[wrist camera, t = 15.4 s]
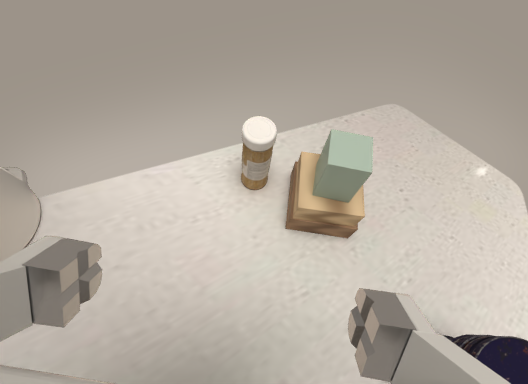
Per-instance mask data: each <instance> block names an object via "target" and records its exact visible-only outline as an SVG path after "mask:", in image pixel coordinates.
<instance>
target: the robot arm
mask: <svg viewBox="0 0 528 384" xmlns="http://www.w3.org/2000/svg"><path fill="white" fill-rule="evenodd" d="M40 214H41V209H40V203H39V200H38V198H37V196H36V195H35V194H34V192H33V191H32V190H31V189H30V188H29V186H28V184H27V177H26V173H25V172H24V171H23V170H21V169H19V168H15V167H9V168H8V167H6V168H5V167H0V342H1V341H2V340H4V339H6V338H8V337H10V336H12V335H14V334H16V333H18V332H20V331H22V330H24V329H25V328H27V327H29V326H31V325H32V323H34V324H42V325H49V326H56V327H65V326H66V325H67V324H68V323H69V322H70V321H71V319H72V318H73V317H74V316H75V315H76V314H77V313H78V312H79V311H80V304H81V303H84V302H86V301H88V300H90V299H91V298H92V297H93V296H94V295H95V294H96V292H97V290H98V288H99V286H100V284H101V279H102V269H101V267H100V266H99V265H98V263H97V262H98V261H99V259H100V258H101V257H102V254H101V247H100V246H99V245H98V244H94V243H89V242H84V241H78V240H73V239H68V238H63V237H56V236H45V237H43V238H41V239H40V240H38V241H36V242H34V243H33V244H31V245H29V246H28V247H26V248H24V247H25V246H26V245H27V244H28V243H29V241H30V240H31V238H32V237H33V235H34V233H35V232H36V229H37V227H38V224H39V221H40ZM23 248H24V249H23ZM355 301H356V304H357V306H356V307H355V308H354V309H352V310H351V312H350V316H349V321H348V333H349V338H350V342H351V344H352V345H353V346H354V347H355V348H356V349H357V350H356V353H355V359H356V362H357V365H358V368H359V372H360V375H361V376H362V377H367V378H373V379H378V380H383V381H388V382H391V384H511V383H509V382H508V381H506V380H505V379H504V378H502V377H501V376H499V375H498V374H497V373H495V372H494V371H492V370H491V369H490V368H488V367H487V366H485V365H484V364H482V363H481V362H480V361H478V360H477V359H475V358H474V357H473V356H471V355H470V354H468V353H467V352H466V351H464V350H463V349H461V348H460V347H458V346H457V345H456V344H454V343H453V342H451V341H450V340H449V339H447V338H446V337H444V336H443V335H439V334H437V333H436V332H435V331H434V329H433V328H432V326H431V325H430V323H429V322H428V320H427V319H426V317H425V316H424V314H423V313H422V311H421V310H420V308H419V307H418V306H417V304H416V303H415V301H414V300H413V298H412V297H411V296H409V295H408V294H400V293H391V292H384V291H377V290H370V289H363V288H359V290H358V291H357V293H356V296H355ZM0 384H114V383H108V382H102V381H96V380H89V379H83V378H77V377H71V376H65V375H59V374H53V373H47V372H40V371H34V370H28V369H22V368H16V367H10V366H4V365H0Z"/></svg>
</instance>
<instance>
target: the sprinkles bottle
mask: <svg viewBox="0 0 528 384" xmlns="http://www.w3.org/2000/svg"><path fill="white" fill-rule="evenodd" d="M276 135H277V129H276V126H275V124H274V123H273V122H272V121H271V120H270V119H268V118H266V117H262V116H255V117H252V118H249V119H248V120H247V121H246V122H245V123H244V124H243V127H242V141H243V152H242V175H241V180H242V183H243V184H244V185H245V186H246V187H247V188H249V189H254V190H257V189H261V188H262V187H264V186H265V184H266V183H267V179H268V177H267V175H268V172H269V167H270V162H271V157H272V149H273V145H274V143H275V141H276Z"/></svg>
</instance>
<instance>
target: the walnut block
mask: <svg viewBox="0 0 528 384" xmlns="http://www.w3.org/2000/svg"><path fill="white" fill-rule="evenodd" d="M297 164H298V162H296V161H295V164H294V167H293V170H292V174H291V181H290V191H289V200H288V210H287V219H286V228H285V229H292V230H298V231H305V232H311V233H317V234H324V235H330V236H337V237H343V238H349V237H350V236H351V235H352V234H353V233H354V232H355V231H357V230H358V223H357V224H356V225H355V226H354V227H353V226H346V225H339V224H331V223H324V222H316V221H309V220H302V219H294V218H293V211H294V197H295V182H296V168H297Z"/></svg>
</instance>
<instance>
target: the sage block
mask: <svg viewBox="0 0 528 384" xmlns="http://www.w3.org/2000/svg"><path fill="white" fill-rule="evenodd" d="M372 161H373V137H369V136H364V135H358V134H353V133H348V132H343V131H338V130H333V129H331V132H330V134H329V136H328V139H327V141H326V143H325V146H324V148H323V150H322V153H321V155H320V157H319V160H318V162H317V164H316V171H315V179H314V186H313V194H312V195H313V196H318V197H323V198H328V199H333V200H338V201H343V202H348V203H349V202H350V200H351V199H352V198H353V196H354V195H355V194H356V193H357V191H358V190H359V189H360V188H361V186H362V185H363V184H364V183H365V181H366V180H367V179H368V177H369V176H370V175H371V174H372Z"/></svg>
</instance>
